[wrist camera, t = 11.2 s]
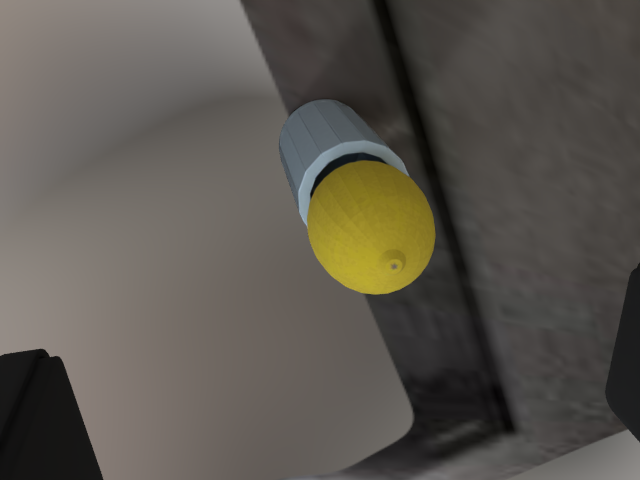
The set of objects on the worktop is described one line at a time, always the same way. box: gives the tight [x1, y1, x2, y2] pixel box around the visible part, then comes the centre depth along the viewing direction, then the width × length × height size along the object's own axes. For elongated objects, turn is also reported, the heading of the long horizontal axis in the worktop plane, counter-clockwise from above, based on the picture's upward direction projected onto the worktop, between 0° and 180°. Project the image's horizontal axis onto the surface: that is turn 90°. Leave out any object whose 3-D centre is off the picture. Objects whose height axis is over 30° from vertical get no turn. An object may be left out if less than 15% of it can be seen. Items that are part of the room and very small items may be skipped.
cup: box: [279, 99, 409, 228], centre depth 32 cm, size 6×6×9 cm
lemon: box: [307, 160, 435, 294], centre depth 26 cm, size 6×6×8 cm
